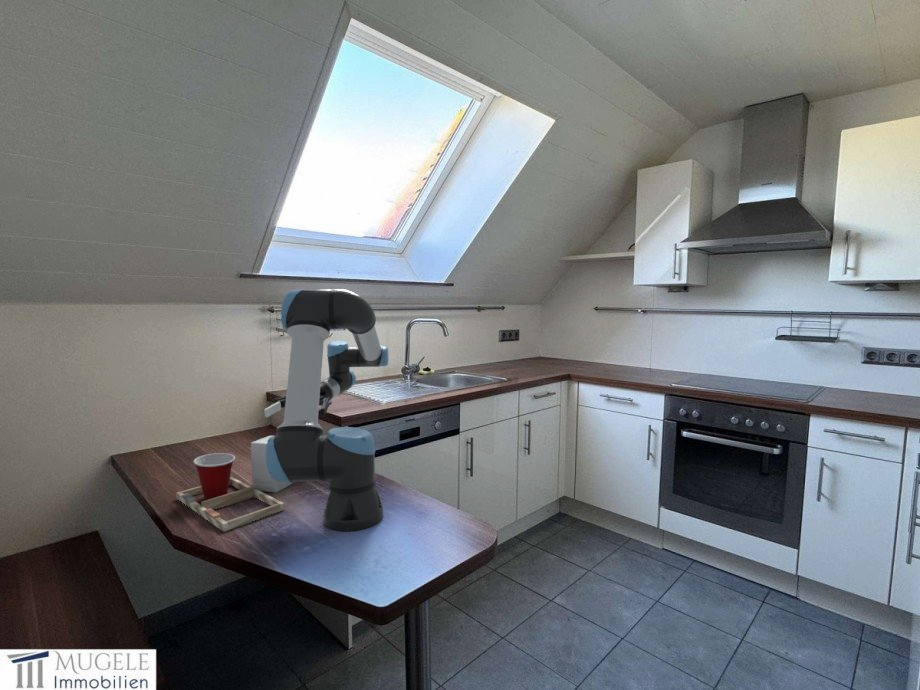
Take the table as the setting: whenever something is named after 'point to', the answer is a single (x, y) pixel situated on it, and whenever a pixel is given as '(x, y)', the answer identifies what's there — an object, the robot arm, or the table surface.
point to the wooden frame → (243, 494)
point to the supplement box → (263, 469)
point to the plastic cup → (214, 473)
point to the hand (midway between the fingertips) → (282, 416)
